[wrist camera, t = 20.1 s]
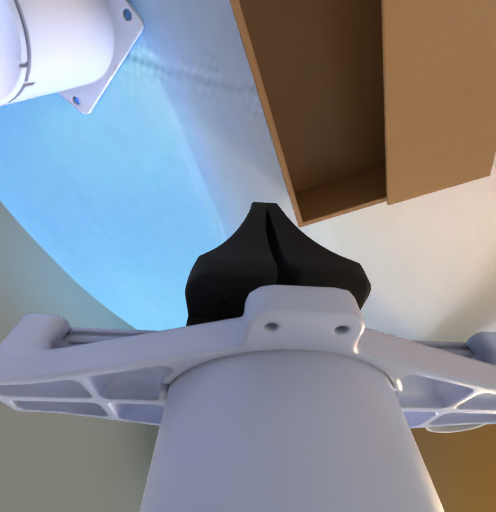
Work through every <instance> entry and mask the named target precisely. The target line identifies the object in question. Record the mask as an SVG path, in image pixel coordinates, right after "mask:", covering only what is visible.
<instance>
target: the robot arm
mask: <svg viewBox="0 0 496 512" xmlns="http://www.w3.org/2000/svg"><path fill="white" fill-rule="evenodd" d="M127 9H128V10H129V11H130V13H131V19H130V20H128V19H127V18H126V16H125V10H127ZM143 29H144V23H143V19H142V18H141V16H140V15H139V14H138V13H137V11H136V10H135V9H134V8H133V7H132V5H131V4H130V3H129V2H128V1H127V0H0V106H3V105H7V104H11V103H15V102H19V101H23V100H27V99H31V98H35V97H39V96H43V95H47V94H51V93H55V92H58V93H59V94H60V95H61V96H62V97H63V98H65V99H66V100H67V101H68V102H69V103H70V104H72V105H73V106H74V107H75V108H76V109H77V110H79V111H80V112H81V113H83V114H89V113H90V112H91V111H92V110H93V108H94V107H95V105H96V103H97V102H98V100H99V99H100V97H101V96H102V94H103V92H104V91H105V89H106V88H107V86H108V85H109V83H110V81H111V80H112V78H113V77H114V75H115V74H116V72H117V71H118V69H119V67H120V66H121V64H122V63H123V61H124V60H125V58H126V56H127V55H128V53H129V52H130V50H131V49H132V47H133V45H134V44H135V42H136V41H137V39H138V38H139V36H140V34H141V33H142V31H143ZM75 97H76V98H78V99H79V101H80V104H78V103H77V102H76V101H75ZM370 291H371V284H370V282H369V280H368V278H367V276H366V274H365V272H364V270H363V268H362V266H361V265H360V263H357V262H355V261H352V260H349V259H347V258H344V257H342V256H340V255H338V254H335V253H333V252H331V251H329V250H328V249H326V248H324V247H322V246H321V245H319V244H318V243H316V242H314V241H313V240H312V239H310V238H309V237H308V236H306V235H305V234H304V233H303V232H302V231H300V230H299V229H298V228H297V227H296V226H295V225H294V224H293V223H292V222H291V221H290V219H289V218H288V217H287V216H286V215H285V213H284V212H283V211H282V210H281V208H280V207H279V206H278V205H277V203H263V202H253V203H252V204H251V209H250V211H249V213H248V215H247V217H246V218H245V220H244V222H243V223H242V224H241V226H240V227H239V228H238V230H237V231H236V232H235V233H234V234H233V235H232V236H231V237H230V238H229V239H228V240H227V241H225V242H224V243H223V244H221V245H220V246H218V247H217V248H215V249H213V250H211V251H209V252H207V253H205V254H203V255H200V256H199V257H198V259H197V260H196V262H195V264H194V266H193V268H192V270H191V272H190V275H189V277H188V281H187V285H186V288H185V296H186V303H187V309H188V320H187V324H186V327H180V328H174V329H169V330H163V331H149V330H122V329H97V328H96V329H95V328H71V327H70V325H69V323H68V321H67V320H66V319H65V318H64V317H62V316H60V315H55V314H34V313H28V314H25V315H24V316H23V317H22V319H21V320H20V321H19V322H18V323H17V325H16V326H15V327H14V328H13V330H12V331H11V332H10V333H9V334H8V335H7V337H6V338H5V339H4V340H3V342H2V343H1V344H0V401H2V402H3V403H5V404H6V405H8V406H10V407H11V408H12V409H14V410H16V411H33V412H34V411H35V412H50V413H63V414H73V415H83V416H91V417H98V418H106V419H113V420H122V421H129V422H137V423H144V424H152V425H160V427H159V432H158V436H157V440H156V444H155V449H154V453H153V457H152V461H151V466H150V470H149V474H148V478H147V483H146V487H145V491H144V496H143V500H142V504H141V508H140V512H444V509H443V507H442V505H441V503H440V500H439V497H438V495H437V493H436V490H435V488H434V486H433V483H432V481H431V478H430V476H429V473H428V471H427V469H426V466H425V464H424V461H423V459H422V457H421V454H420V452H419V449H418V447H417V445H416V442H415V440H414V437H413V435H412V433H411V430H410V428H420V427H434V426H448V425H464V424H496V332H479V333H476V334H474V335H473V336H471V337H470V338H469V339H468V340H467V342H466V343H461V342H435V341H409V340H406V339H402V338H399V337H396V336H392V335H389V334H385V333H382V332H378V331H375V330H372V329H368V328H365V321H364V319H363V316H362V314H361V311H360V310H361V308H362V307H363V305H364V303H365V301H366V300H367V298H368V296H369V294H370Z"/></svg>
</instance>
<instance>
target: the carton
mask: <svg viewBox="0 0 496 512" xmlns="http://www.w3.org/2000/svg"><path fill="white" fill-rule="evenodd" d="M230 3H231V6H232V10H233V13H234V16H235V19H236V23H237V26H238V29H239V33H240V36H241V39H242V42H243V46H244V49H245V52H246V56H247V59H248V62H249V65H250V69H251V72H252V75H253V79H254V82H255V85H256V88H257V92H258V95H259V98H260V101H261V105H262V108H263V111H264V115H265V118H266V121H267V124H268V128H269V131H270V134H271V138H272V141H273V144H274V147H275V151H276V154H277V157H278V161H279V164H280V167H281V170H282V174H283V177H284V180H285V184H286V187H287V190H288V193H289V197H290V200H291V203H292V206H293V210H294V213H295V216H296V220H297V223H298V226H299V228H300V227H303V226H306V225H310V224H313V223H316V222H319V221H323V220H326V219H329V218H333V217H336V216H339V215H342V214H346V213H349V212H352V211H356V210H359V209H362V208H365V207H369V206H372V205H375V204H378V203H382V202H385V201H387V193H386V155H385V116H384V78H383V40H382V2H381V0H230Z"/></svg>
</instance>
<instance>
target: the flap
mask: <svg viewBox="0 0 496 512" xmlns="http://www.w3.org/2000/svg"><path fill="white" fill-rule="evenodd" d="M381 2H382V40H383V78H384V116H385V155H386V193H387V204H388V205H391V204H394V203H398V202H401V201H405V200H408V199H411V198H415V197H418V196H422V195H425V194H429V193H432V192H435V191H439V190H442V189H446V188H449V187H452V186H456V185H459V184H463V183H466V182H469V181H473V180H476V179H480V178H483V177H486V176H490V173H491V169H492V165H493V161H494V157H495V153H496V0H381Z"/></svg>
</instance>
